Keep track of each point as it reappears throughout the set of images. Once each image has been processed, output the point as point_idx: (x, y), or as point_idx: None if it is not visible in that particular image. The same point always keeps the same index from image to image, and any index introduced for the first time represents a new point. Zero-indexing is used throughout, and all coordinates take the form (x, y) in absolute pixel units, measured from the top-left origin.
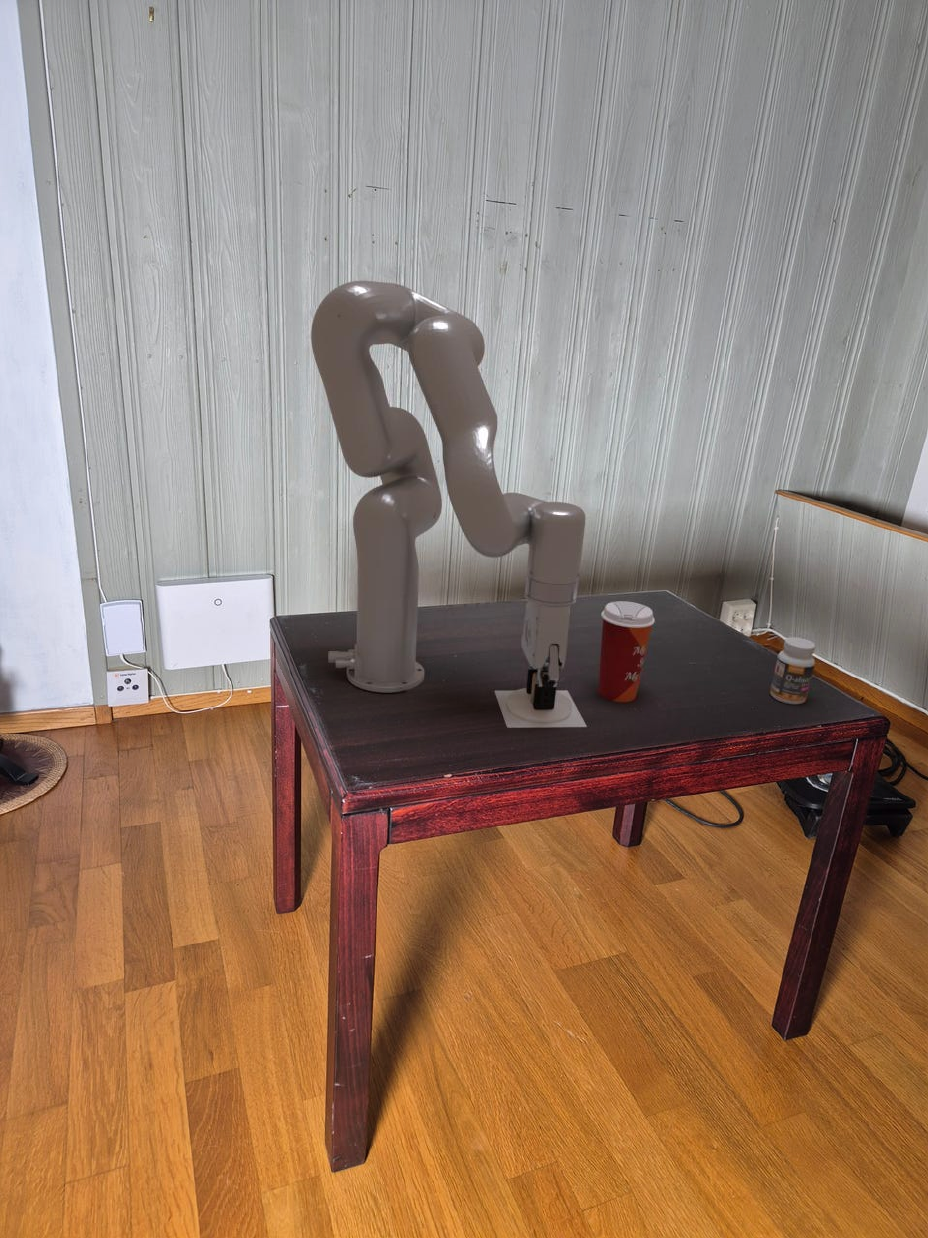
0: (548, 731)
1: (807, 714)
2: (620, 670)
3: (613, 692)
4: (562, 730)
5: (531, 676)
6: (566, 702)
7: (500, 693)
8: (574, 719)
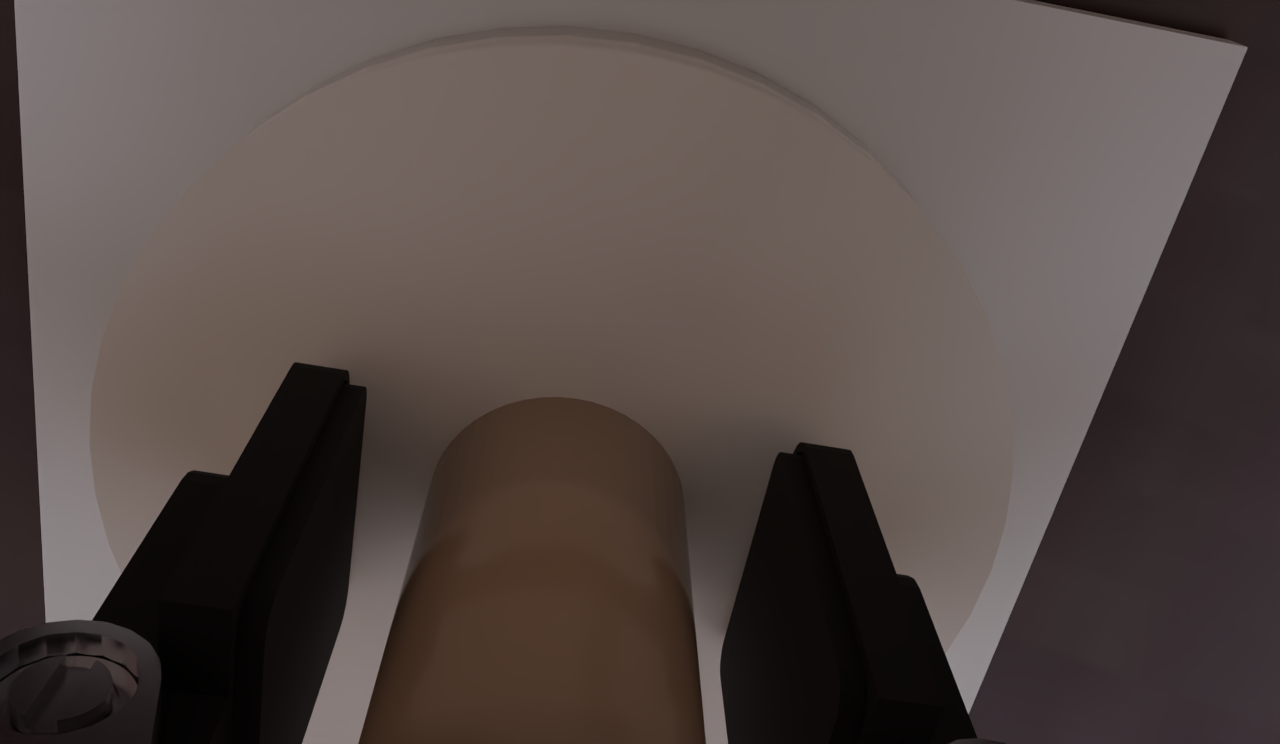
0: (6, 364)
1: None
2: None
3: None
4: (37, 521)
5: (815, 663)
6: None
7: (1122, 111)
8: None
